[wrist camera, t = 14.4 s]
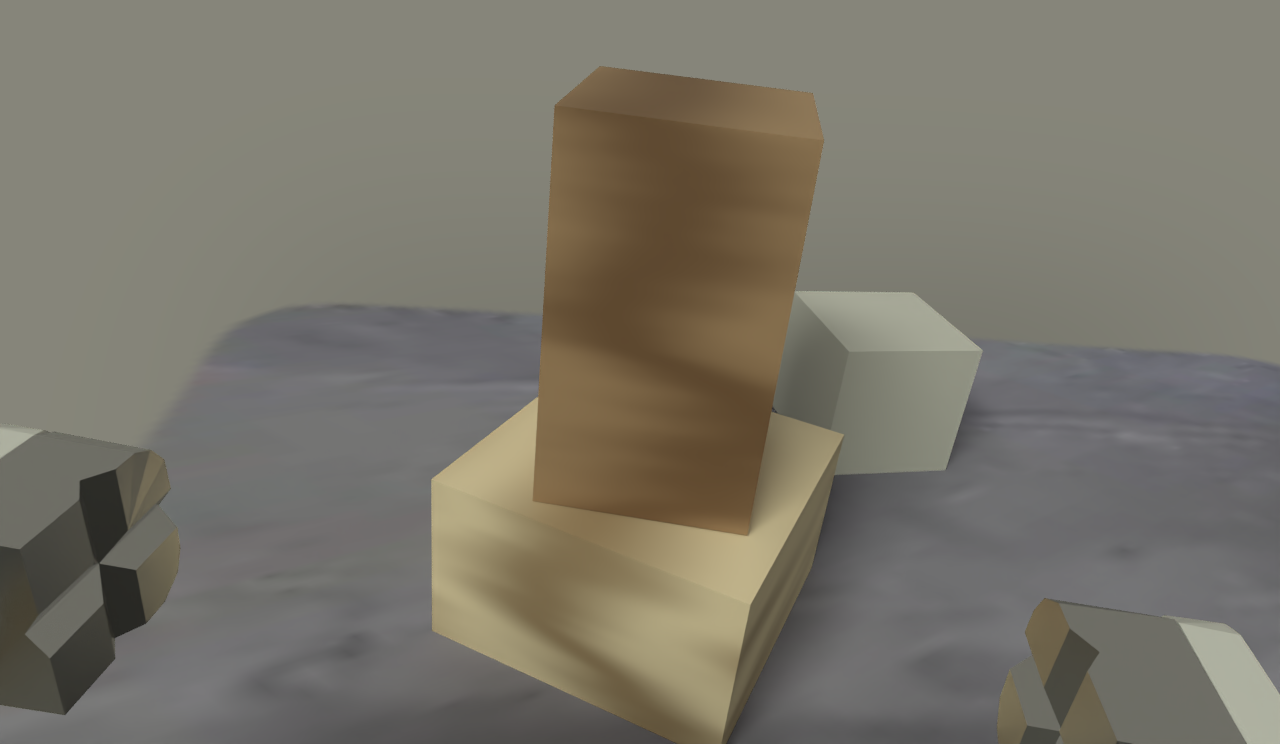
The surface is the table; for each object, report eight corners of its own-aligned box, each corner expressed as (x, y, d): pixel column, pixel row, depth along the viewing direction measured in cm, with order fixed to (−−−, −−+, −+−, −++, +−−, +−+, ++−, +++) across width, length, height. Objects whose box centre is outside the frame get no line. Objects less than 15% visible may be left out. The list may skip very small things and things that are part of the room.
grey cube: (883, 403, 37) (913, 292, 35) (944, 471, 33) (982, 350, 31) (771, 406, 36) (793, 291, 34) (819, 477, 32) (849, 351, 30)
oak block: (809, 574, 27) (844, 434, 25) (715, 768, 21) (750, 604, 19) (579, 488, 30) (591, 355, 28) (431, 637, 24) (431, 479, 21)
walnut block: (751, 426, 25) (812, 93, 21) (747, 535, 21) (824, 139, 16) (574, 399, 25) (599, 65, 21) (532, 501, 21) (554, 105, 17)
